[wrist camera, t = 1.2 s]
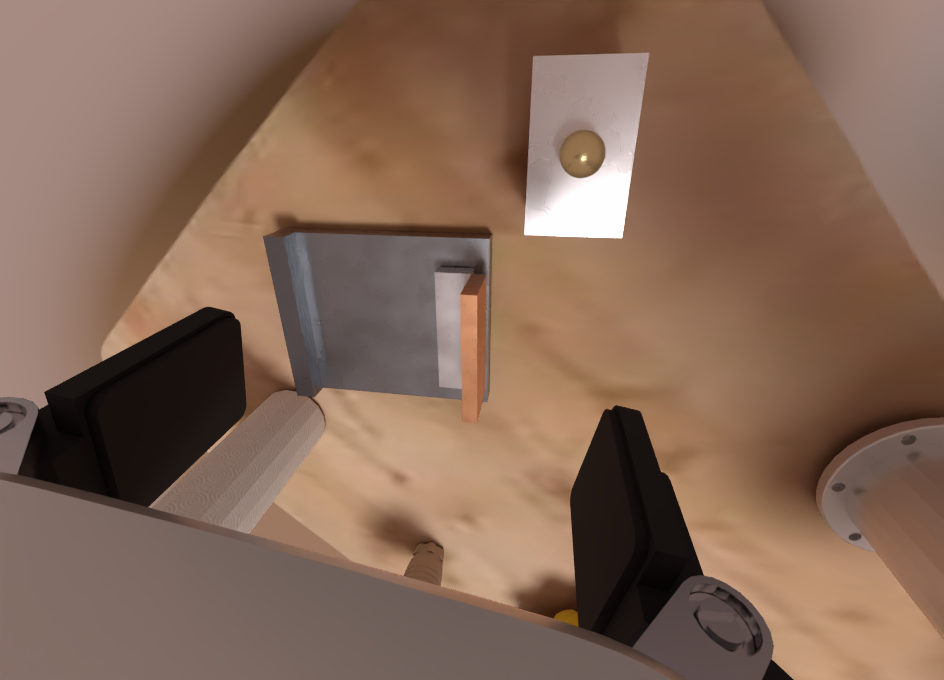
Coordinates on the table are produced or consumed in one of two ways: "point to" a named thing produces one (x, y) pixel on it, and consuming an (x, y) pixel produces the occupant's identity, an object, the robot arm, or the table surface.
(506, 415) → the table surface
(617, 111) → the block
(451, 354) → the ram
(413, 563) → the handle
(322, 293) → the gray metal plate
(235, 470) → the paper towel roll
